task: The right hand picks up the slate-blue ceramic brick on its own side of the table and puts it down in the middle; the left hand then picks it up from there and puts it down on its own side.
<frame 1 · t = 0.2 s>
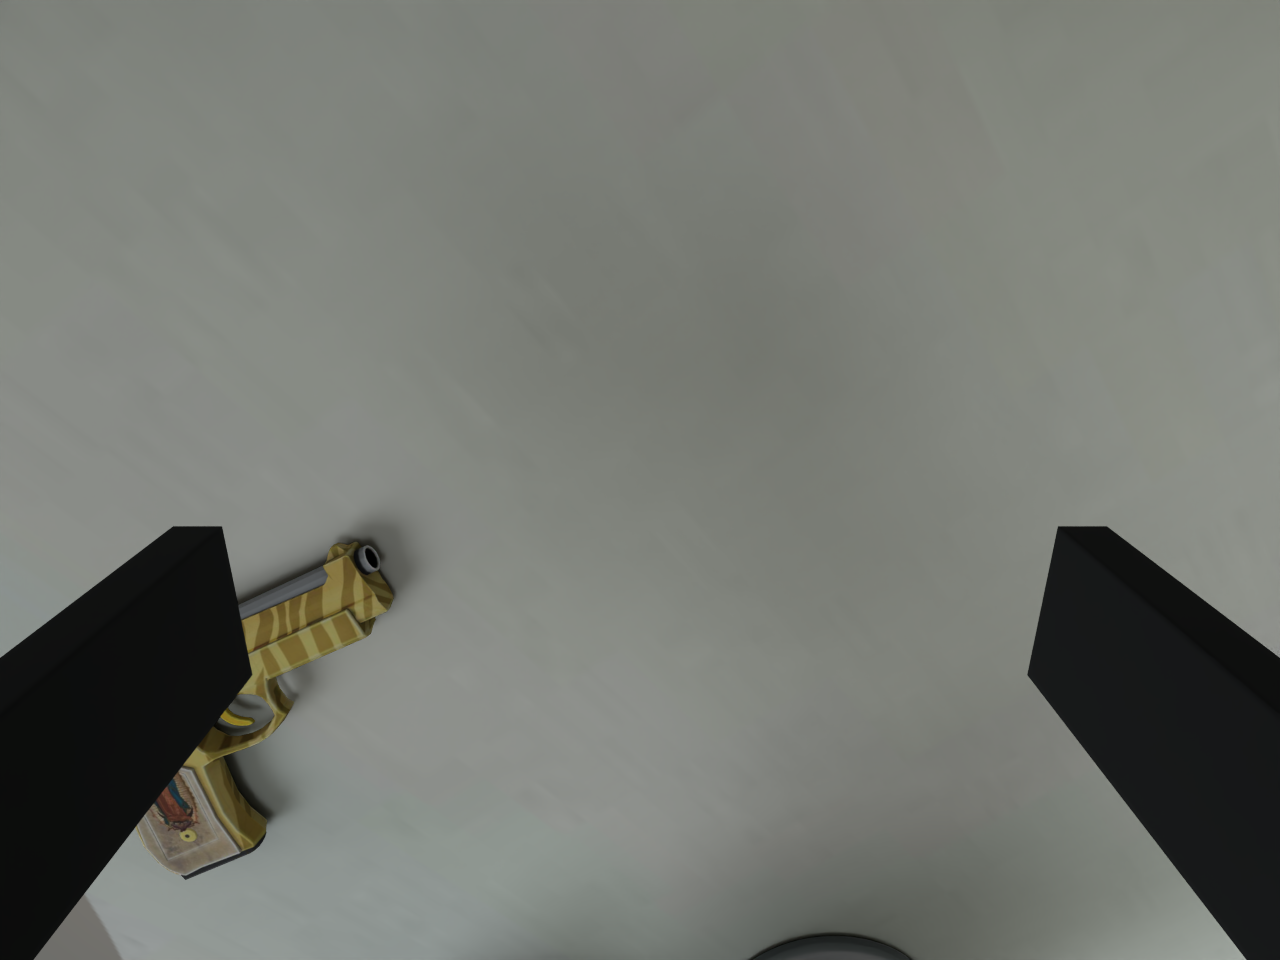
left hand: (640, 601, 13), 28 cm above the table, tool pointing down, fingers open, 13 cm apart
handgun: (269, 704, 47), on the table
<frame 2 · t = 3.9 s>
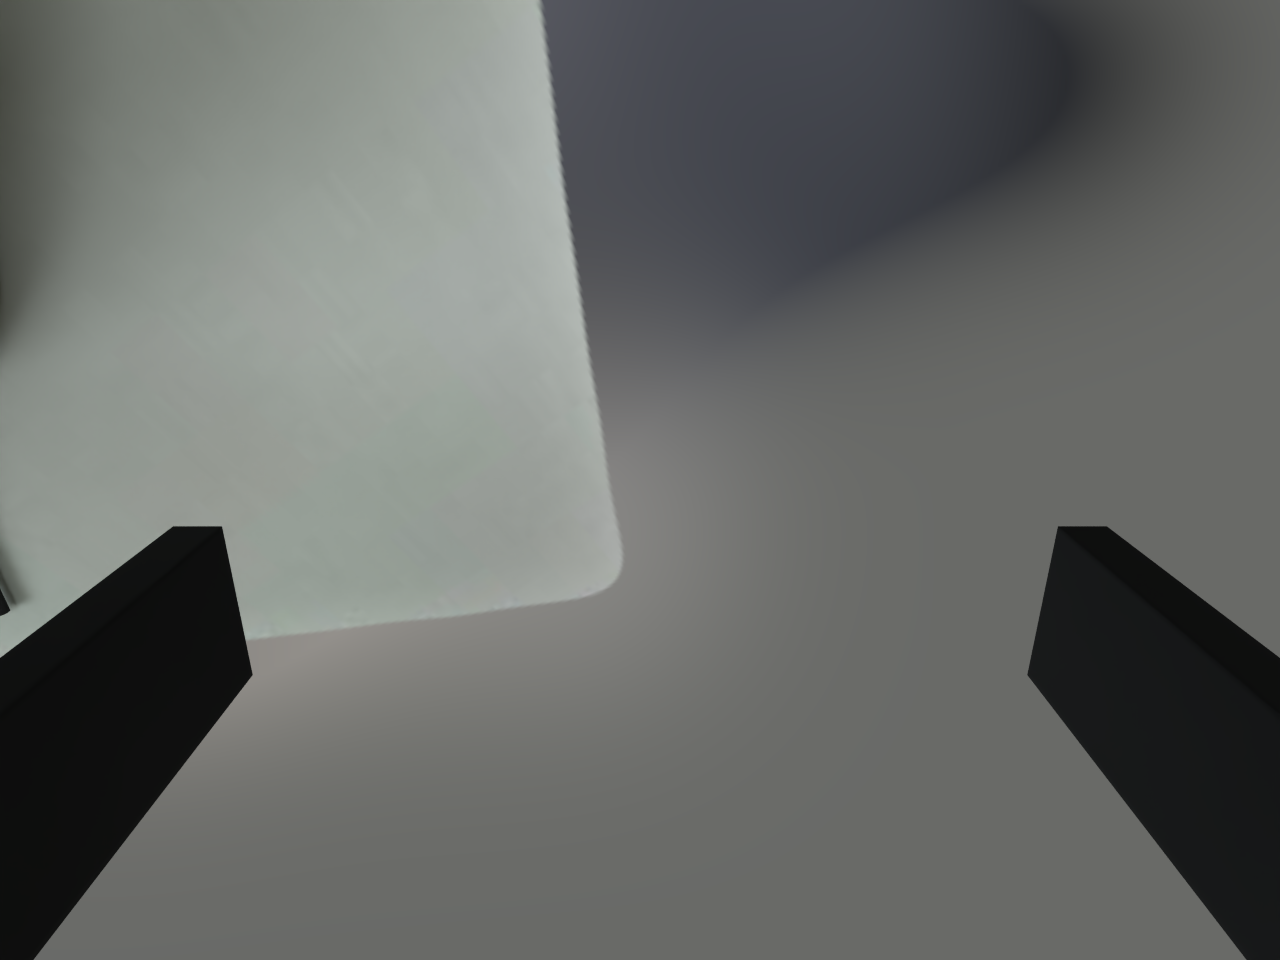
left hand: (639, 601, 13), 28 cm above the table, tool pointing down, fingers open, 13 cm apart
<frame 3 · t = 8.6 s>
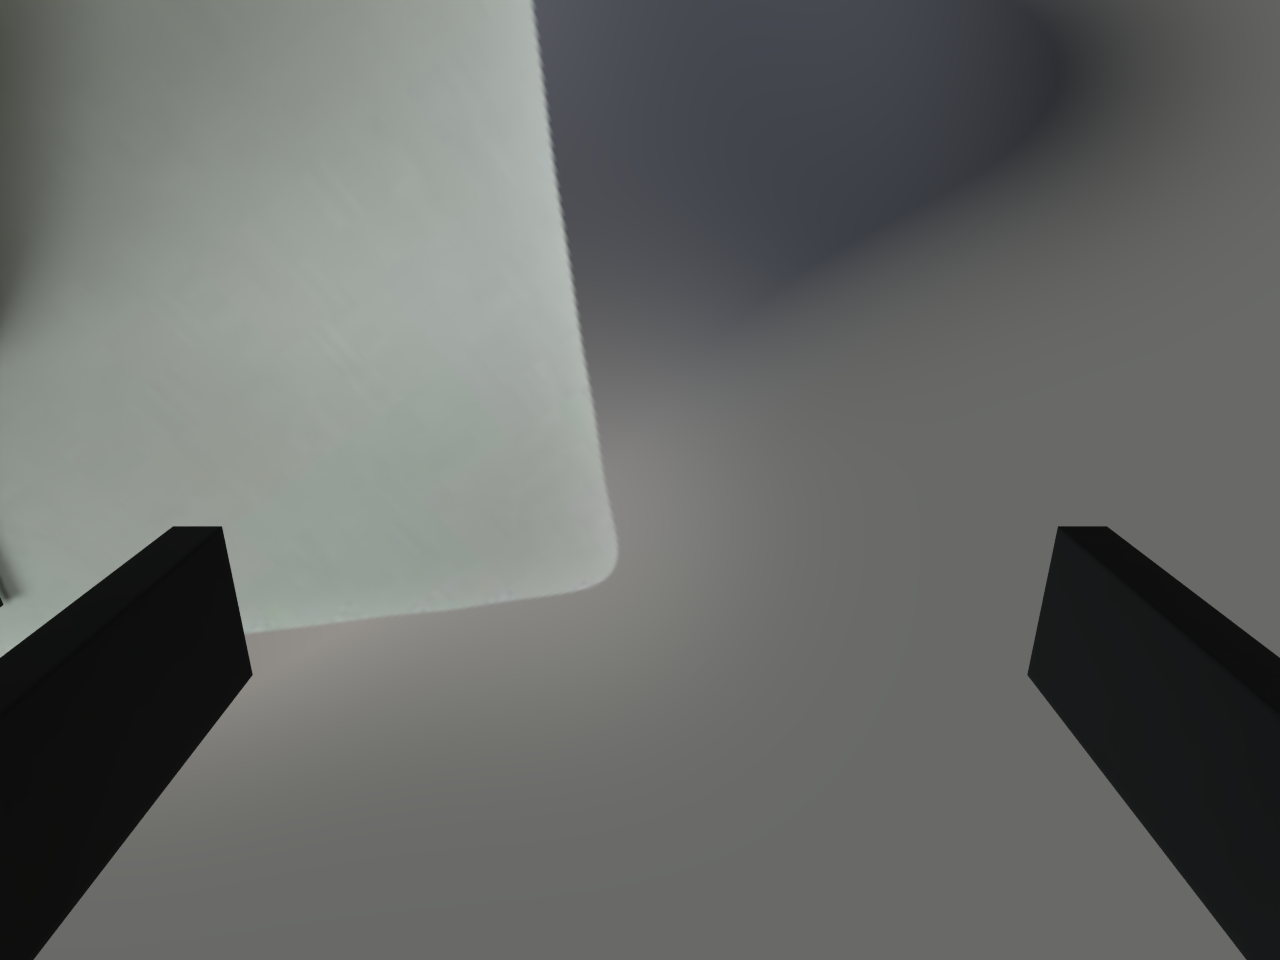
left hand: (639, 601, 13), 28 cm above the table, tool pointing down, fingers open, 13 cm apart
when the right hand's fingers open (5 cm above the table, at t = 13.4 s): brick drops 2 cm, on the table.
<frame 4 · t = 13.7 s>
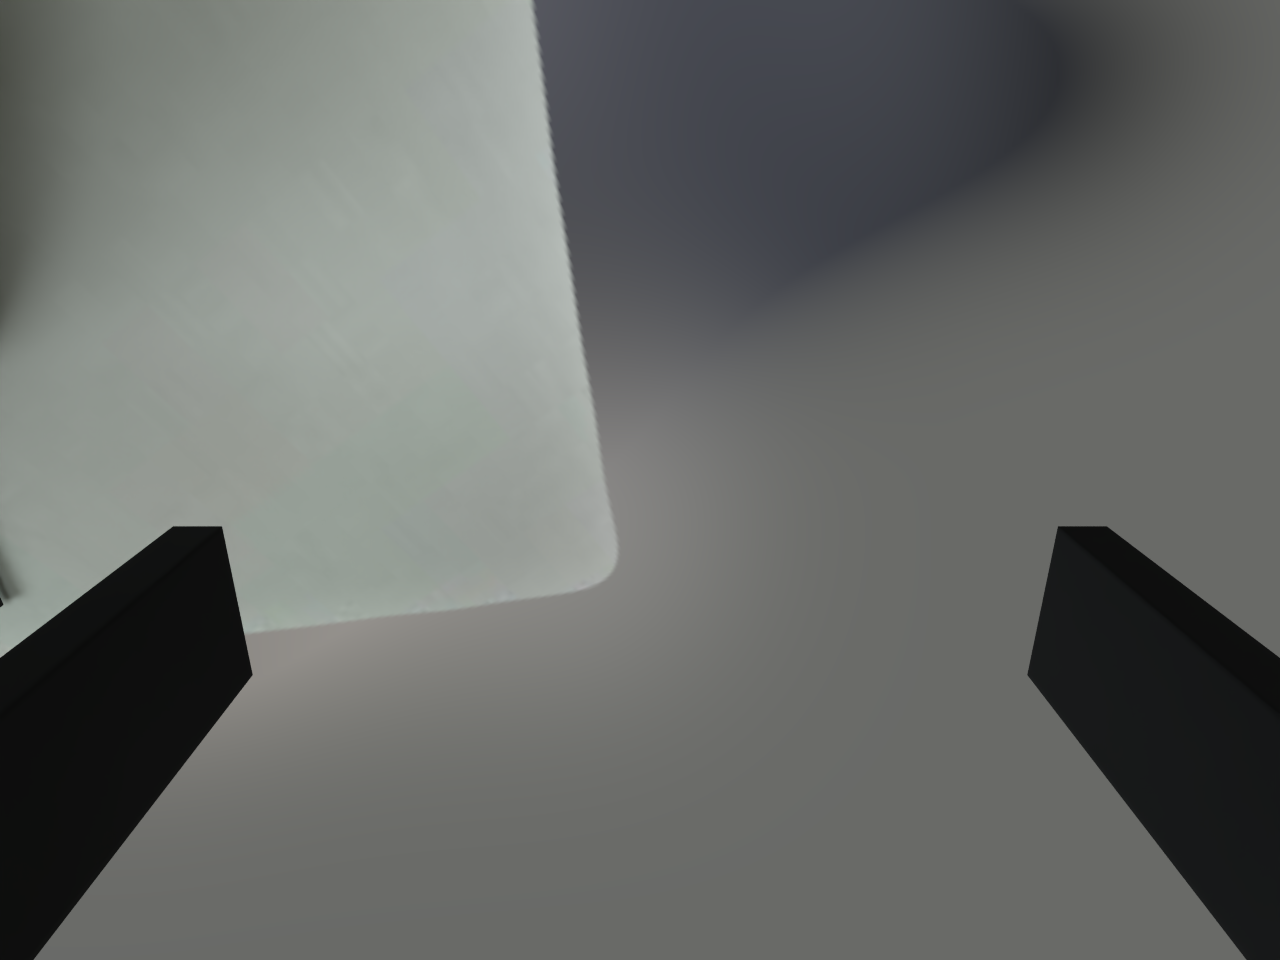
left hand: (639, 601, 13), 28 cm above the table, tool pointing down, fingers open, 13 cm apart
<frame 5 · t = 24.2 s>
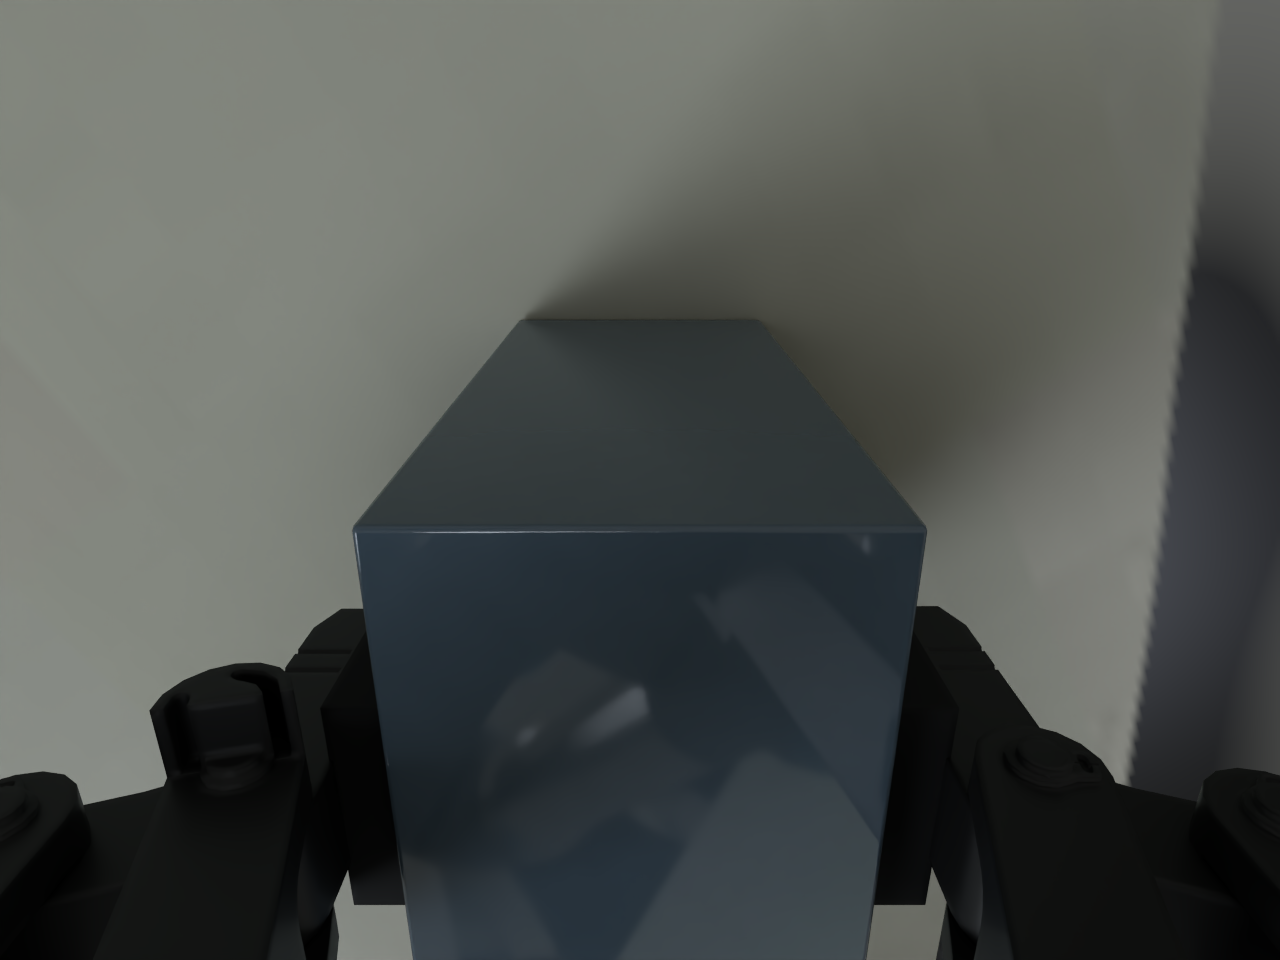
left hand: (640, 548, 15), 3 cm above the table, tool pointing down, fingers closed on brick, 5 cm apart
brick: (639, 477, 18), on the table, touching left hand
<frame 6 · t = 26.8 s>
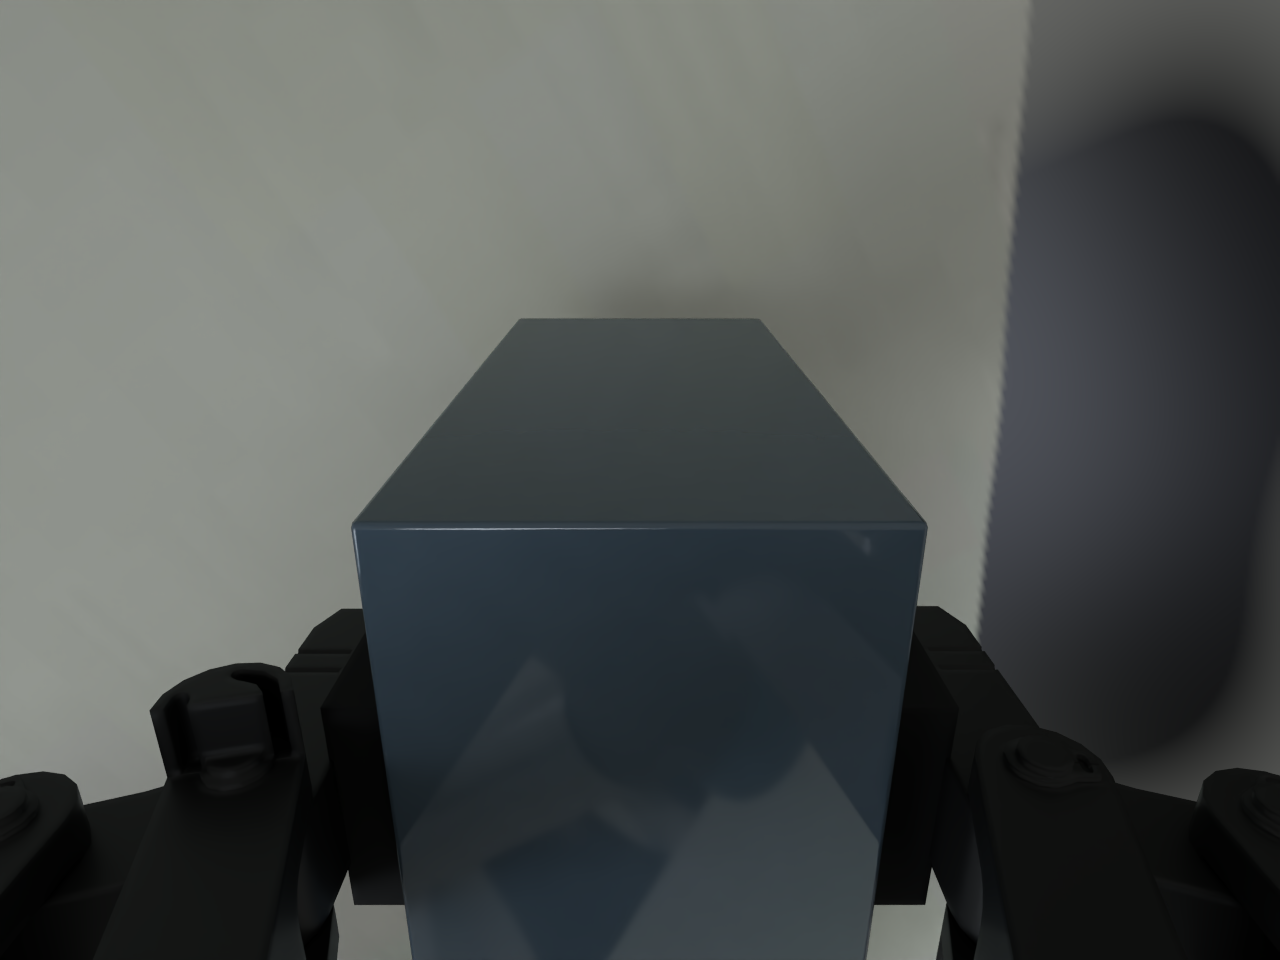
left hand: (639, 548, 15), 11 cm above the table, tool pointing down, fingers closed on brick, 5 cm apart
brick: (639, 475, 18), point 8 cm above the table, touching left hand
when the left hand's fingers open (5 cm above the table, at t = 29.8 s): brick drops 2 cm, on the table.
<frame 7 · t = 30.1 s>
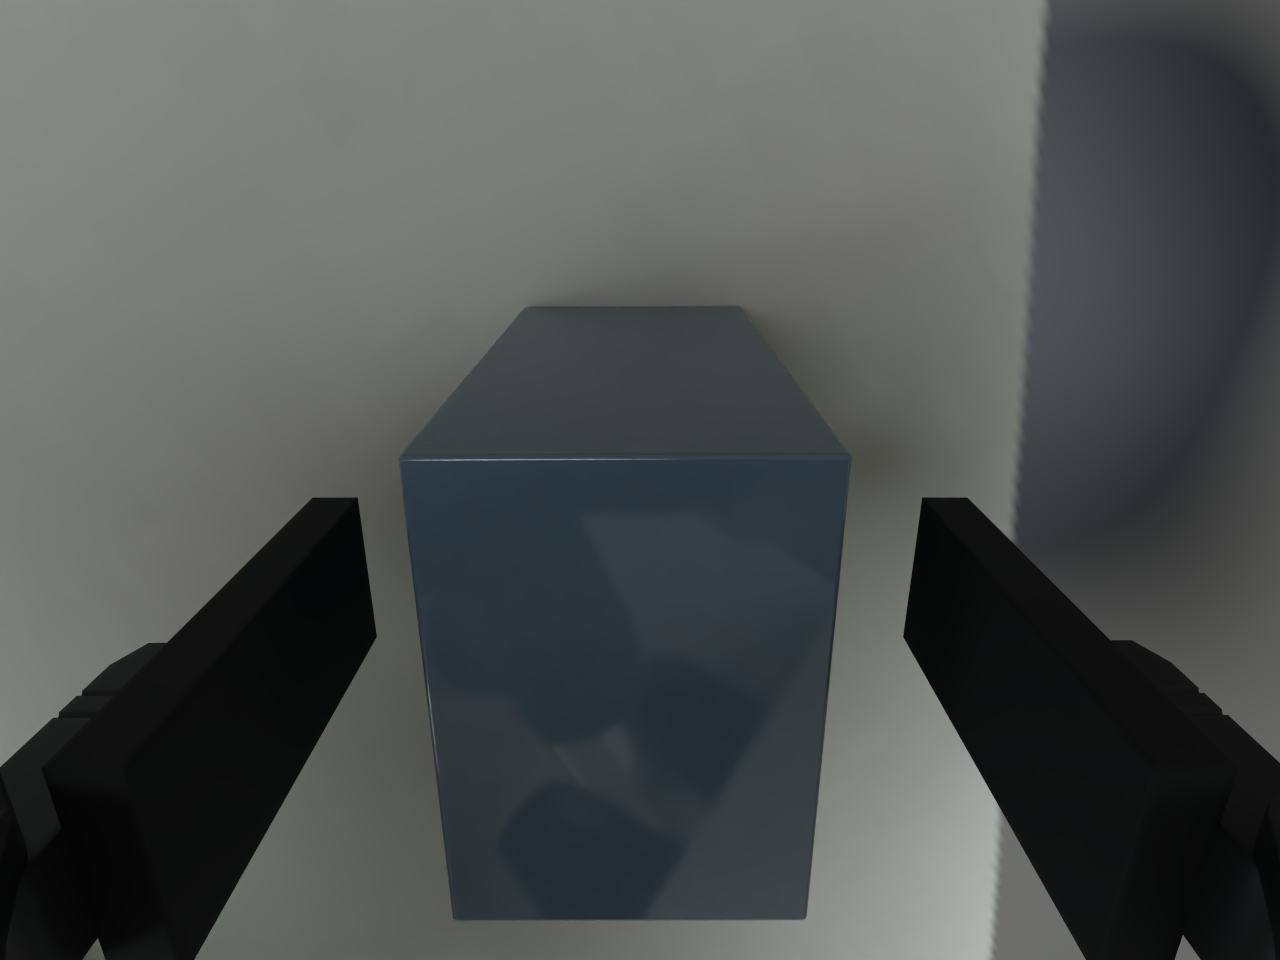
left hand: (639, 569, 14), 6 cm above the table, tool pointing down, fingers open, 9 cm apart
brick: (633, 449, 20), on the table
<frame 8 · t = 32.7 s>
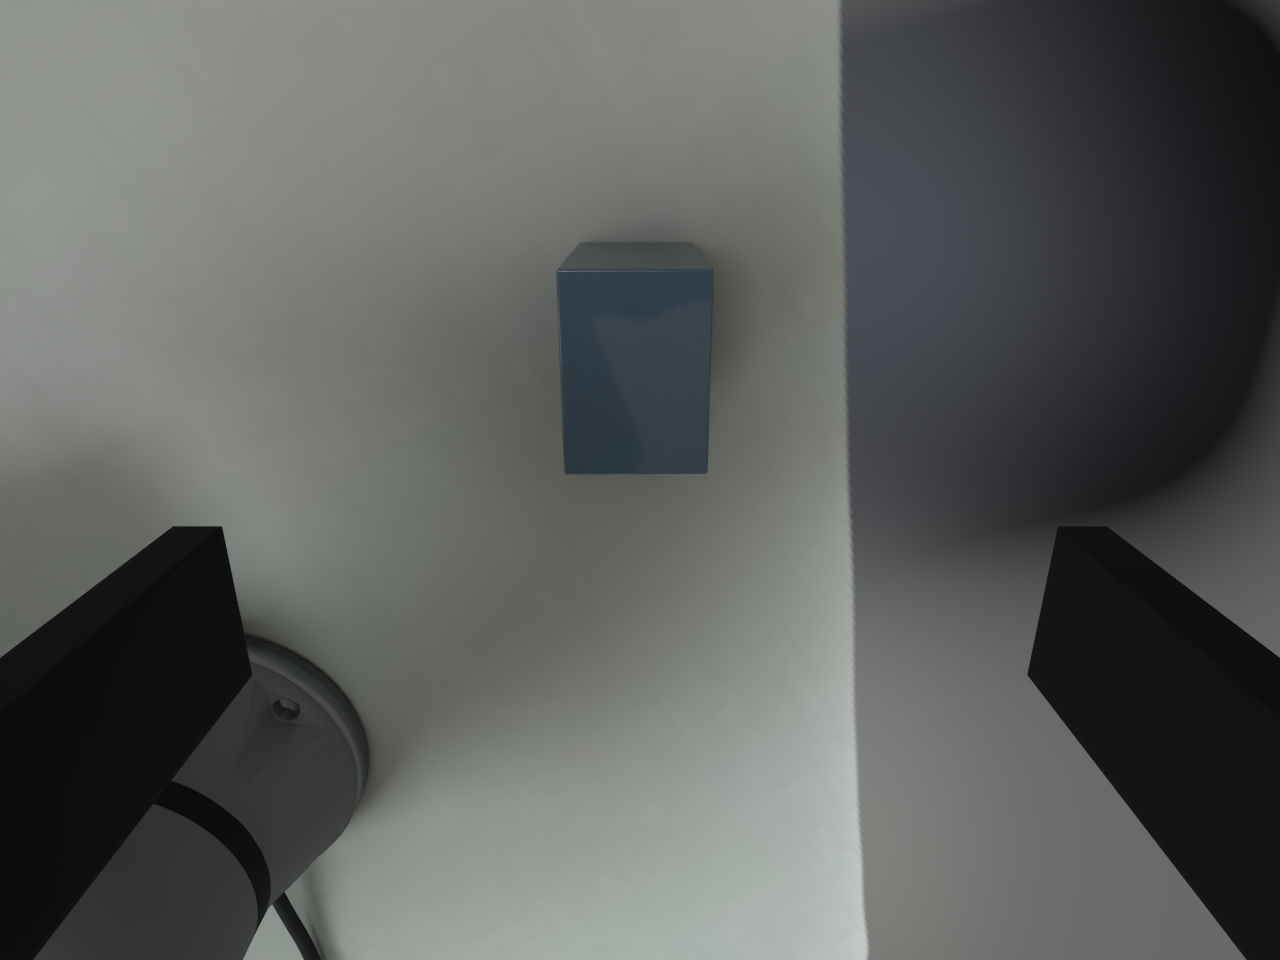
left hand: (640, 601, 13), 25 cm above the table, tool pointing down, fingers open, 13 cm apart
brick: (636, 322, 36), on the table
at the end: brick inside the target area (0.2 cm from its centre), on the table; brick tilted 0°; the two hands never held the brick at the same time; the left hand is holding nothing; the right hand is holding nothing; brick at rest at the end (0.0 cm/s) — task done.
